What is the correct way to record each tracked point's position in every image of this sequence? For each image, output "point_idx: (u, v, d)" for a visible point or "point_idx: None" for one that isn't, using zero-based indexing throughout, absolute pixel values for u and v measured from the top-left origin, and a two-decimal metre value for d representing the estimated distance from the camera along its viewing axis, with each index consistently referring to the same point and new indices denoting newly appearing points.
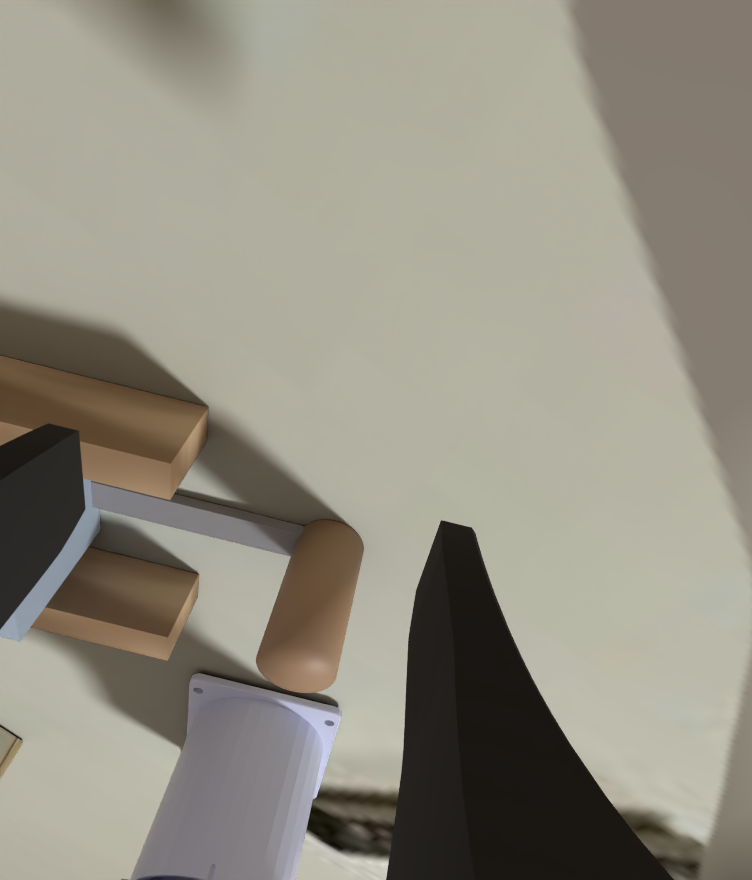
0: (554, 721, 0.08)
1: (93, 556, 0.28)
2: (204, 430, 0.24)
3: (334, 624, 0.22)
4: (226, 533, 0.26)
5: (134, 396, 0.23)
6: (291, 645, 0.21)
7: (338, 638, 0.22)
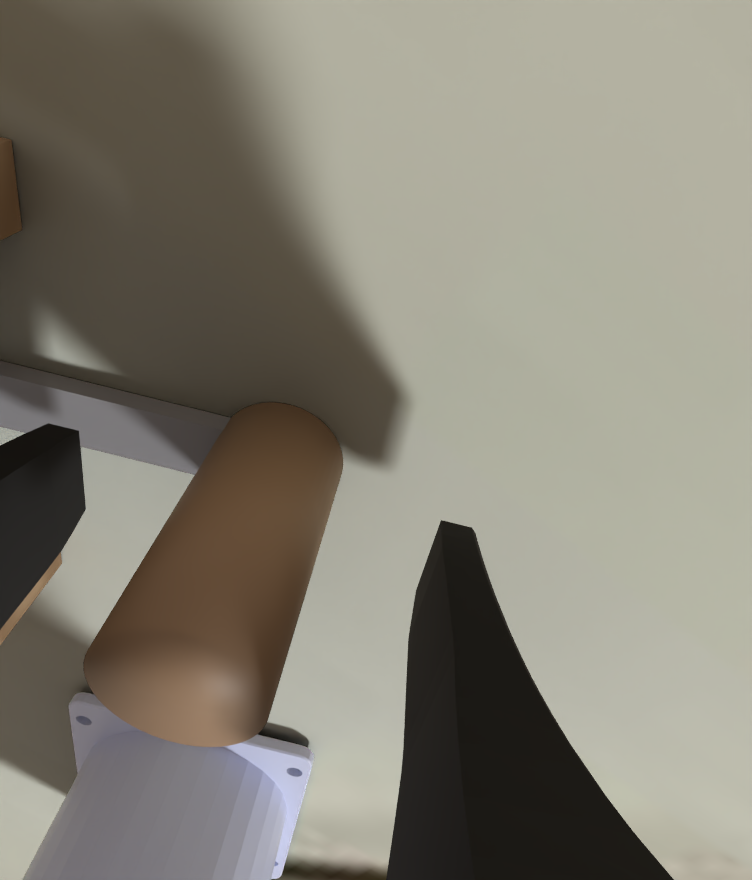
0: (554, 721, 0.08)
1: None
2: (6, 193, 0.11)
3: (268, 592, 0.10)
4: (83, 433, 0.14)
5: None
6: (156, 638, 0.09)
7: (277, 624, 0.10)
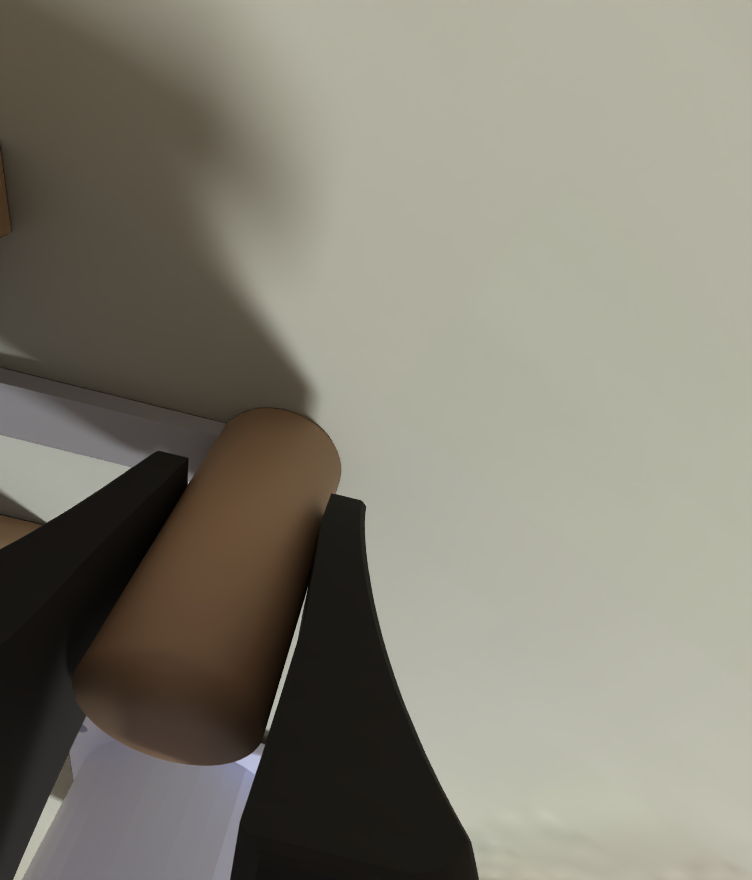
0: (391, 681, 0.08)
1: None
2: None
3: (263, 608, 0.10)
4: (75, 439, 0.14)
5: None
6: (146, 657, 0.08)
7: (272, 640, 0.09)
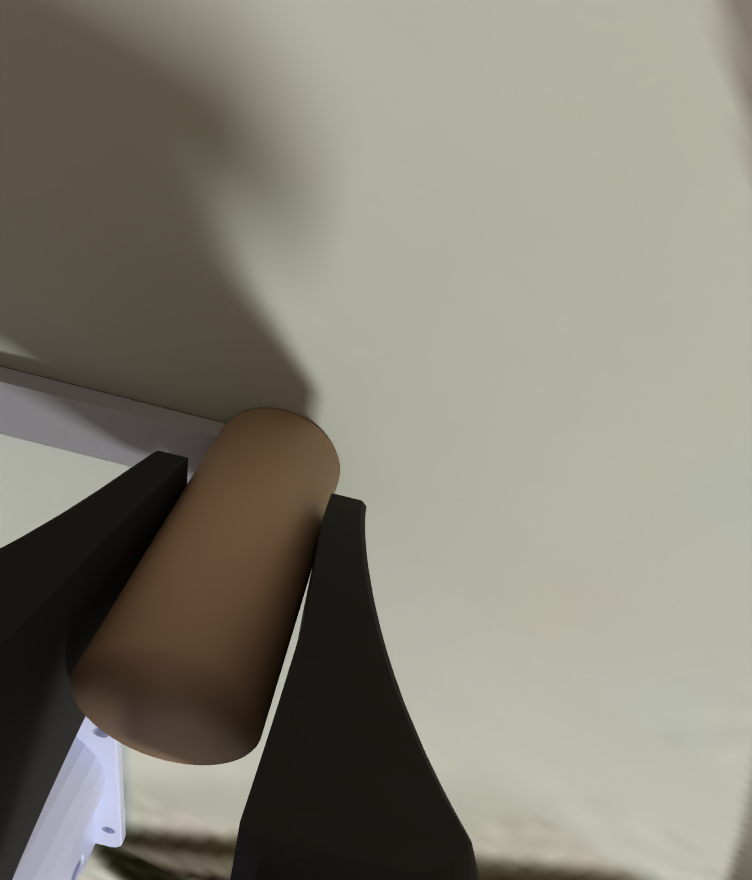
0: (392, 681, 0.08)
1: None
2: None
3: (261, 607, 0.10)
4: (74, 438, 0.14)
5: None
6: (145, 656, 0.08)
7: (270, 640, 0.09)
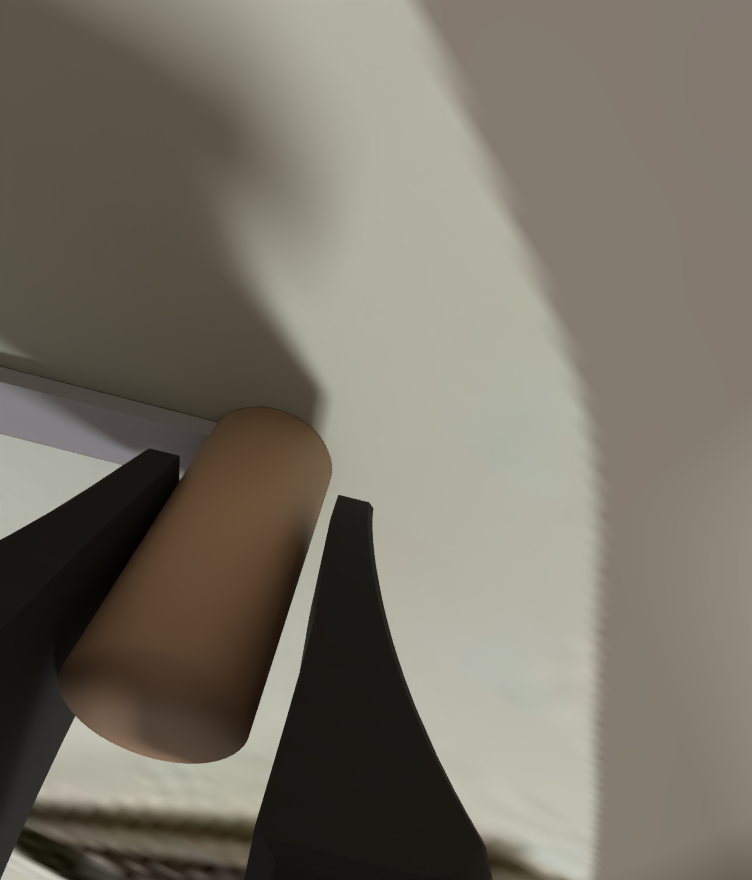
0: (402, 684, 0.08)
1: None
2: None
3: (251, 606, 0.10)
4: (66, 436, 0.14)
5: None
6: (132, 654, 0.08)
7: (259, 639, 0.09)
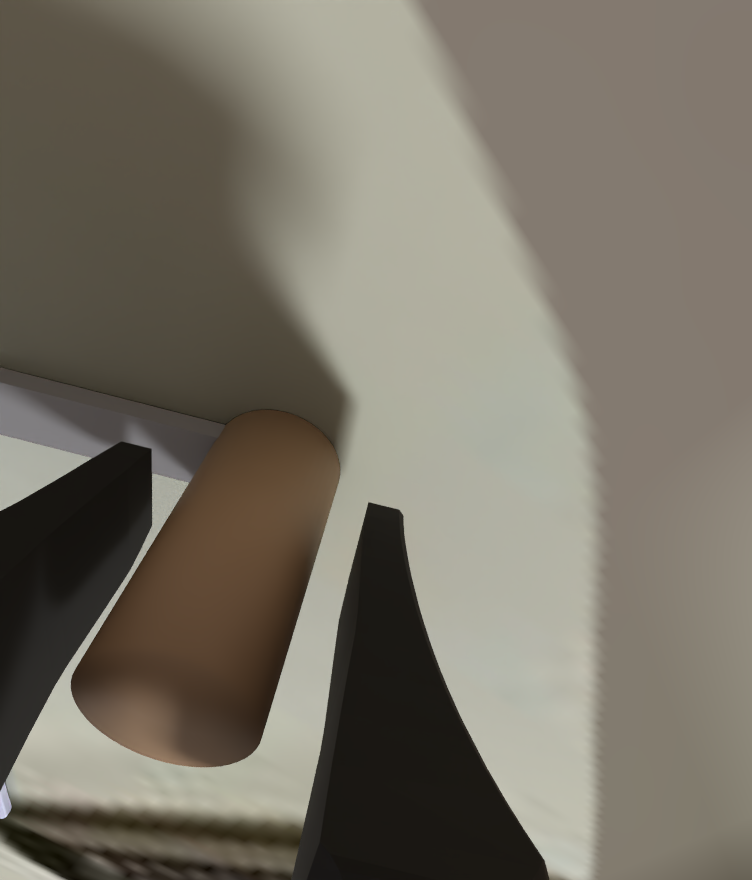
0: (446, 695, 0.08)
1: None
2: None
3: (261, 610, 0.10)
4: (75, 439, 0.14)
5: None
6: (145, 659, 0.08)
7: (270, 642, 0.09)
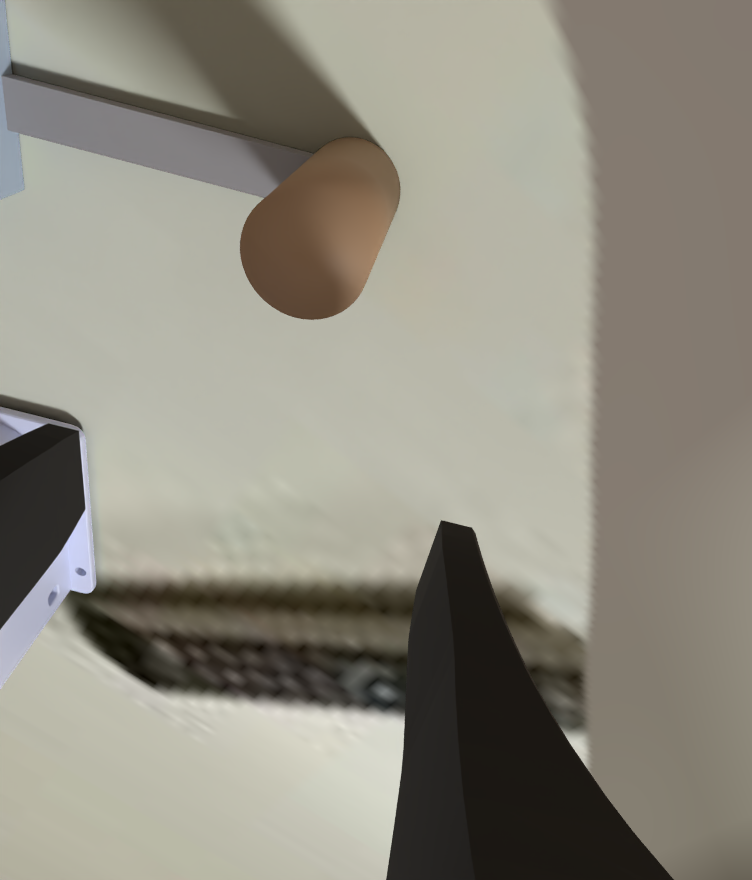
0: (554, 721, 0.08)
1: None
2: None
3: (365, 203, 0.14)
4: (200, 166, 0.18)
5: None
6: (298, 199, 0.13)
7: (371, 222, 0.14)
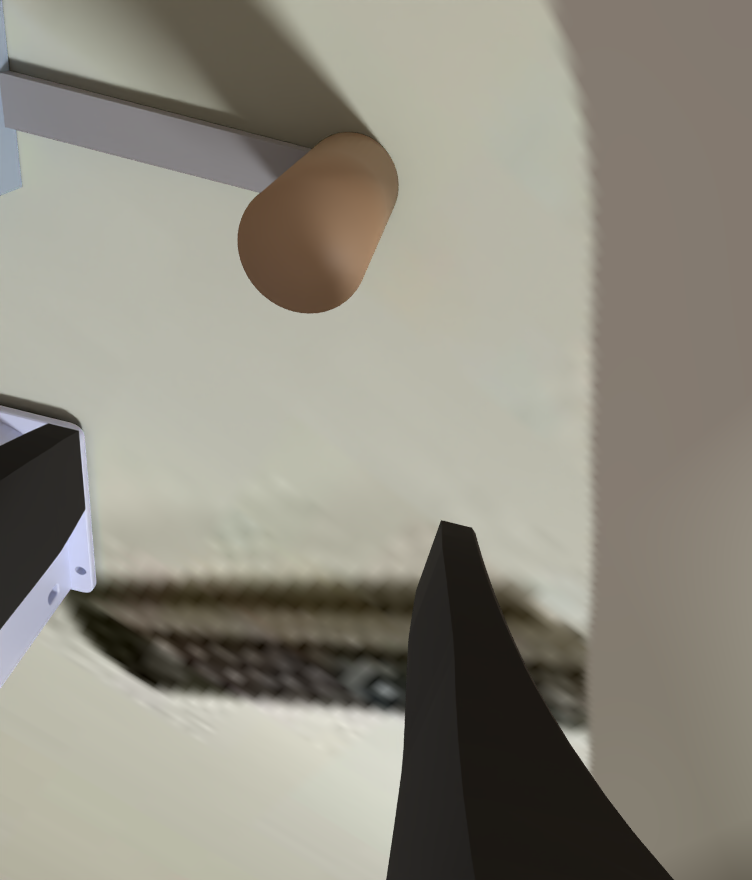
0: (554, 721, 0.08)
1: None
2: None
3: (363, 196, 0.14)
4: (198, 162, 0.18)
5: None
6: (295, 191, 0.13)
7: (369, 216, 0.14)
